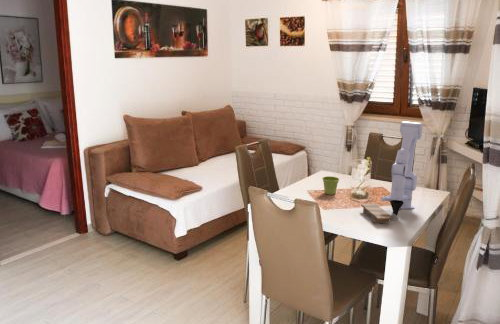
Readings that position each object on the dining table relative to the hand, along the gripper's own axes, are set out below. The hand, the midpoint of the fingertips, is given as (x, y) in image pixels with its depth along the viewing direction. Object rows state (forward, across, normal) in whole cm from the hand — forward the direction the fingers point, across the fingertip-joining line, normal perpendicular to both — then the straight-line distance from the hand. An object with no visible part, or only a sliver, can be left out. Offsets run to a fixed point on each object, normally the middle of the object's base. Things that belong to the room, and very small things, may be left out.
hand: (395, 214), depth 220 cm
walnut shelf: (+1, -10, 0) cm, 10 cm away
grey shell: (+1, -6, 0) cm, 6 cm away
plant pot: (+1, -20, +40) cm, 45 cm away
